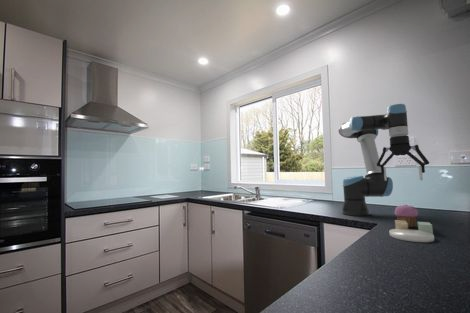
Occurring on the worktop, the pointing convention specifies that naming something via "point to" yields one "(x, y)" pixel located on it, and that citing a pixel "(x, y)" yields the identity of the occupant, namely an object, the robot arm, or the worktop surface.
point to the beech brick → (401, 224)
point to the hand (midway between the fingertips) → (402, 180)
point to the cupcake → (407, 214)
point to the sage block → (425, 227)
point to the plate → (411, 235)
